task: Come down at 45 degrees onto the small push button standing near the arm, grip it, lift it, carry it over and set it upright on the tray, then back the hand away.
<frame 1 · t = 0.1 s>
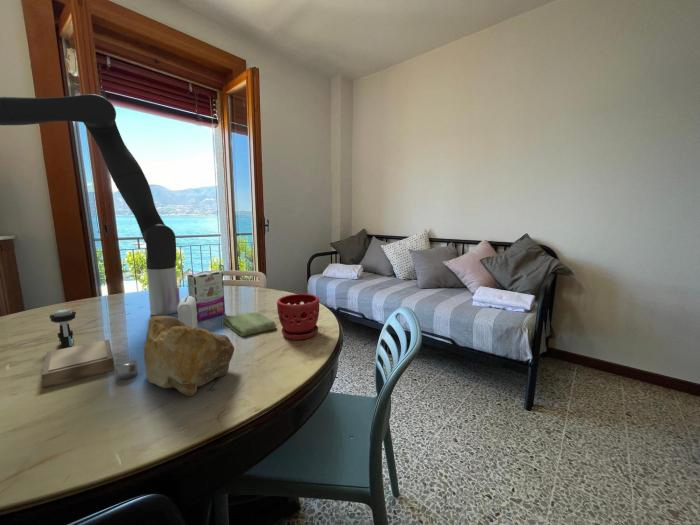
candy bar box: (208, 317, 110), on the table
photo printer: (189, 336, 92), on the table
plant pot: (298, 334, 95), on the table
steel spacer: (127, 375, 69), on the table
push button: (66, 344, 85), on the table
washcloth: (249, 327, 102), on the table
rough brown rock: (196, 378, 69), on the table
tray: (80, 366, 73), on the table
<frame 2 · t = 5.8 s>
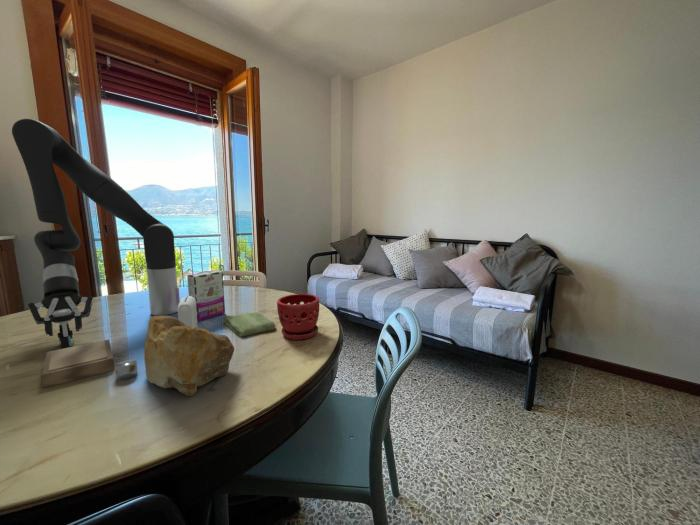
hand: (64, 332, 83), 4 cm above the table, tool tilted 45°, fingers closed on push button, 4 cm apart
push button: (66, 344, 85), on the table, touching gripper
everything else where it was.
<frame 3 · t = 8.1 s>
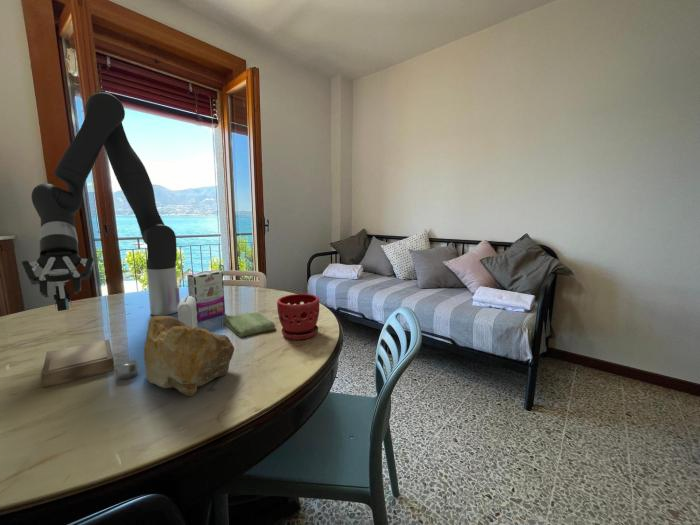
hand: (61, 293, 75), 17 cm above the table, tool tilted 45°, fingers closed on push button, 4 cm apart
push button: (63, 308, 77), point 13 cm above the table, touching gripper
everything else where it was.
when the fingers open (8 cm above the table, at t = 10.8 s): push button moves 1 cm, resting on tray.
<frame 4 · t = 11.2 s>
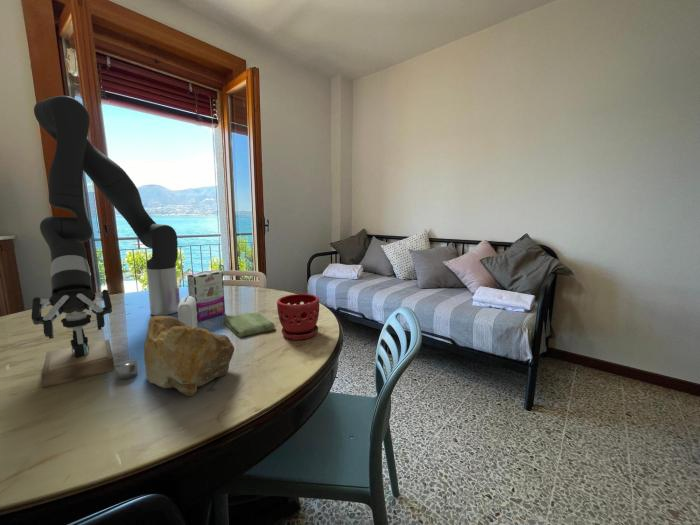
hand: (76, 332, 70), 9 cm above the table, tool tilted 45°, fingers open, 8 cm apart
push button: (80, 353, 73), point 3 cm above the table, touching tray
everything else where it was.
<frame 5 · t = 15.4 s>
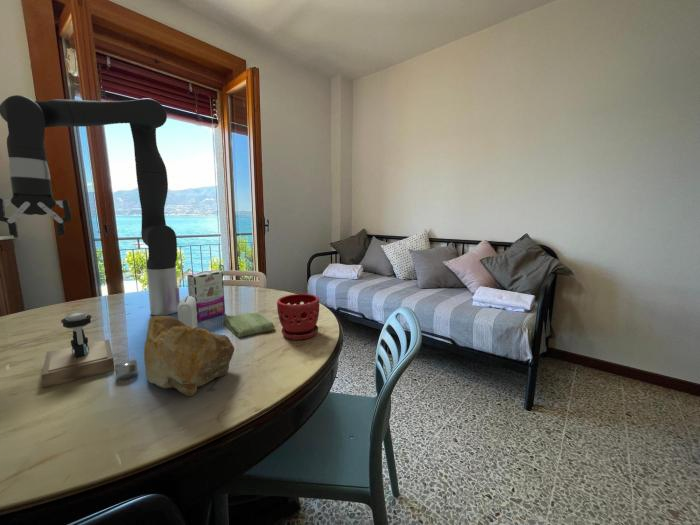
hand: (39, 236, 83), 30 cm above the table, tool pointing down, fingers open, 8 cm apart
nothing on the table moved.
at the end: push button inside the target area on the tray (0.6 cm from its centre), point 3.1 cm above the tray's base; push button tilted 0°; the gripper is holding nothing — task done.
